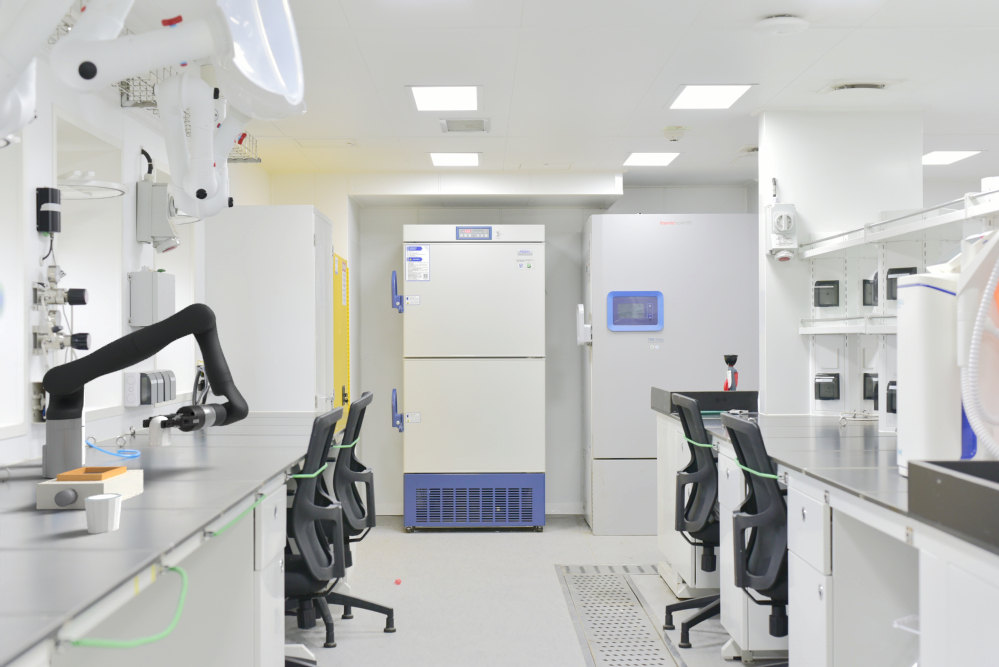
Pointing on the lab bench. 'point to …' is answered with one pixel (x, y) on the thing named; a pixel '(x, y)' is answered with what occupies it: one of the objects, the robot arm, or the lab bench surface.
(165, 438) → the capsule
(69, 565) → the lab bench surface
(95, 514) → the white tapered cup
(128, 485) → the plate
